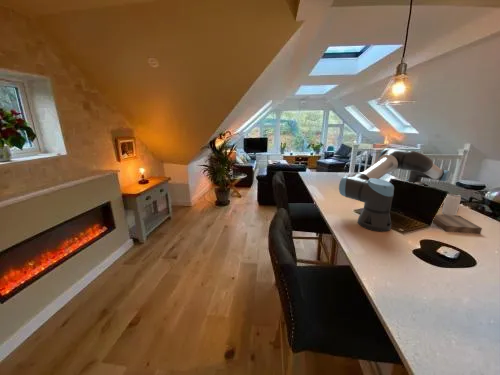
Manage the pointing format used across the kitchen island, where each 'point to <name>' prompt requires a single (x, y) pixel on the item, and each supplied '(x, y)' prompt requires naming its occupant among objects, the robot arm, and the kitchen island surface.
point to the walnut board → (456, 224)
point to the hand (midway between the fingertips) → (440, 198)
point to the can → (451, 204)
